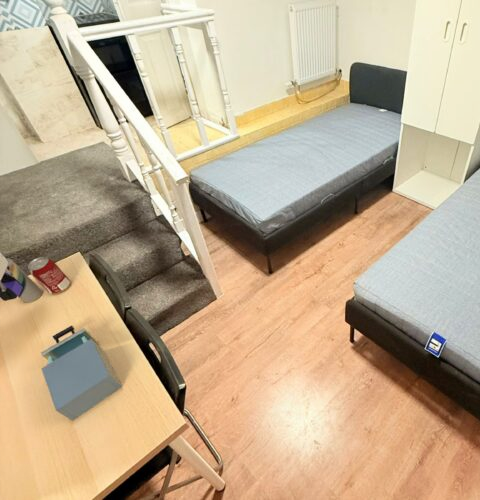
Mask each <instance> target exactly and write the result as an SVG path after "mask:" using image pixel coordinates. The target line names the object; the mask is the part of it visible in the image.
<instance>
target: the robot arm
mask: <svg viewBox="0 0 480 500" xmlns="http://www.w3.org/2000/svg"><path fill="white" fill-rule="evenodd" d="M7 259H8V258H6V257H5V256H4V255H3V254H2V252H0V299H1V300H2V301H4V302H7V301H10V300H16V299H17V296H16V295H15V294H14V293H13V292H12V291H11V290H10V289H9V288H6V287H5V286H4V285H3V283H7V282H12V281H17V280H16V278H15V277H14V276H13V273H12V272H11V271H10V269H9V266H8V260H7ZM12 276H13V277H12ZM17 282H18V281H17ZM18 283H19V282H18ZM19 284H20V283H19ZM20 285H21V284H20ZM21 286H22V285H21Z"/></svg>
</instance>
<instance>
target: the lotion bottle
mask: <svg viewBox="0 0 480 500" xmlns="http://www.w3.org/2000/svg"><path fill="white" fill-rule="evenodd" d="M6 259H7V260H8V266H9V269H10V271H11V272H12V273H13V276H14V277H15V278H16V280H17V281H18V282H19V283H20V284H21V285H22V287H23V288H22V290H21V292H20V295H19V296H18V298H19V299H20V300H21V301H23V302H24V303H33V302H35V301H37V300H39V298H40V297H41V296H42V295H43V290H42V288H41V287H40V286H38V284H36V283H35V281H34V280H33V279H31V277H30V276H29V275H27V274H26V273H25V271H24V270H22V269H21V267H20V266H19V265H18V264H16V262H15V261H13V260H12V259H11V258H6ZM13 276H12V277H13Z"/></svg>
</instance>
